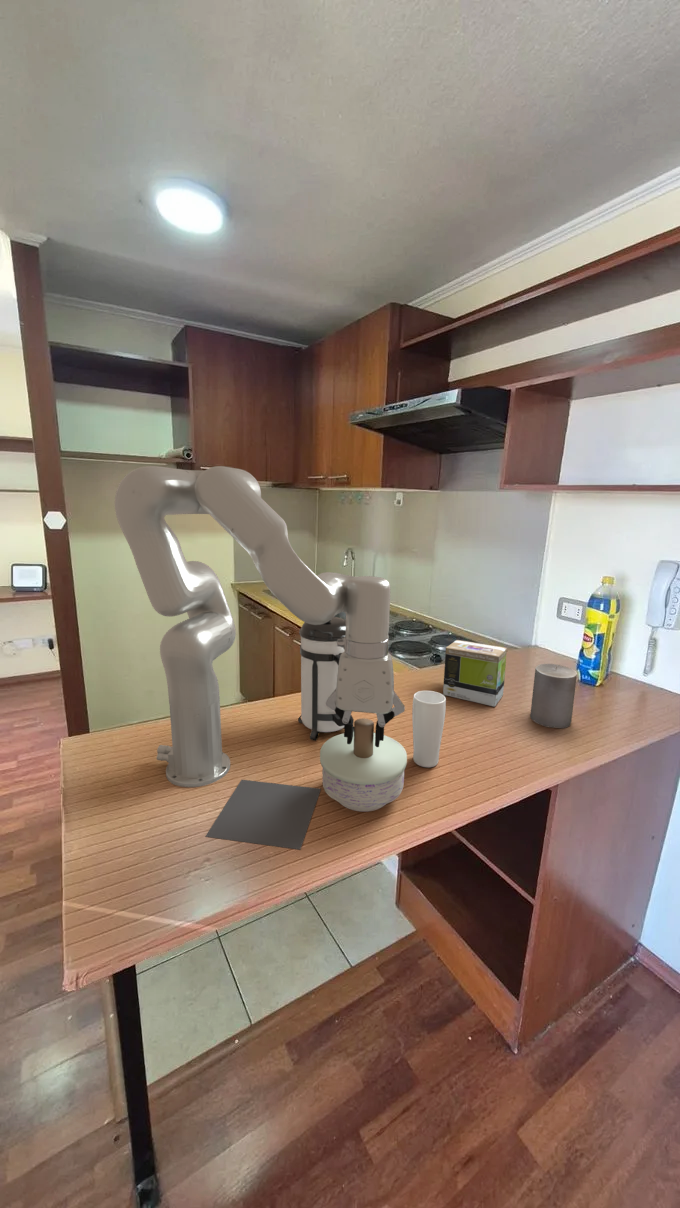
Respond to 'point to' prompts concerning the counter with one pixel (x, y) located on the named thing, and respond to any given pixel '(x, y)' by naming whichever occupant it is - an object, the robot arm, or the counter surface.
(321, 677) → the coffee press
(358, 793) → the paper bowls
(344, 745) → the lid
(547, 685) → the pillar candle
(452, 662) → the tea box
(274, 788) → the mat
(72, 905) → the counter surface
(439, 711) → the drinking glass
